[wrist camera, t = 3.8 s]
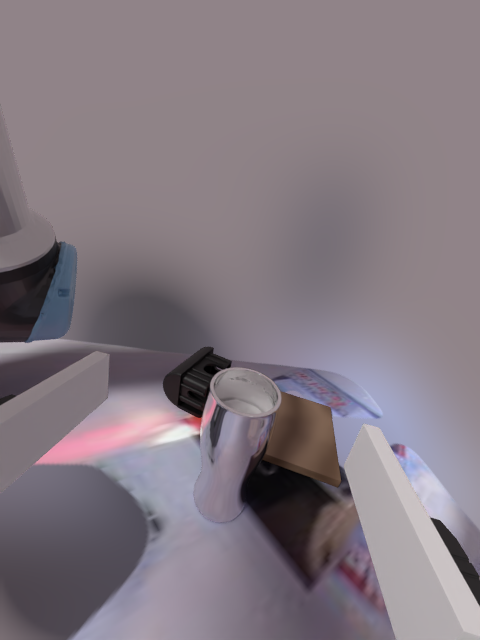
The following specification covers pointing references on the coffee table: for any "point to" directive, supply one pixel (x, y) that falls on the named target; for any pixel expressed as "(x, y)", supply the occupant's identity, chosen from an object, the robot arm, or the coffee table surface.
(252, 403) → the beer glass
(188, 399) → the end cap
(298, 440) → the walnut board
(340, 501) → the coffee table surface
